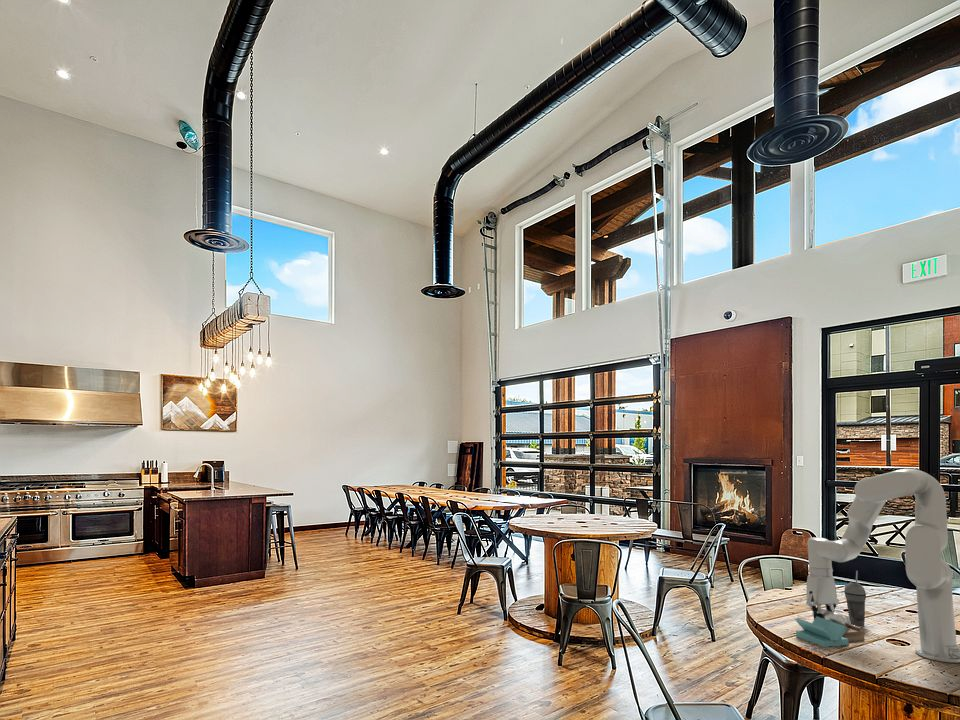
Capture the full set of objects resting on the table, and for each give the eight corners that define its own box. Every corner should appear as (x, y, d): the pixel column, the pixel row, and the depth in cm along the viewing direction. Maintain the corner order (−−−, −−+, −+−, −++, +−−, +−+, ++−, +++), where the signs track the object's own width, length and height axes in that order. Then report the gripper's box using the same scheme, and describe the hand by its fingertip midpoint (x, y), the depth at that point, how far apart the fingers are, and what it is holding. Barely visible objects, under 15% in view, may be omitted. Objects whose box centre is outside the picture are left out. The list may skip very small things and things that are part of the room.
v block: (848, 645, 203) (847, 625, 204) (824, 647, 201) (822, 628, 201) (819, 634, 215) (818, 616, 216) (796, 636, 212) (795, 618, 213)
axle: (850, 628, 212) (849, 615, 213) (840, 628, 211) (840, 615, 212) (821, 619, 223) (821, 607, 224) (812, 619, 222) (812, 607, 223)
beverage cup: (847, 620, 232) (844, 567, 235) (869, 624, 227) (865, 570, 230) (844, 625, 226) (840, 570, 229) (867, 628, 222) (863, 573, 225)
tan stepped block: (864, 640, 209) (863, 627, 210) (844, 642, 207) (843, 629, 207) (840, 631, 219) (839, 619, 219) (820, 633, 216) (819, 621, 217)
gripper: (830, 568, 229) (833, 618, 226) (794, 570, 224) (797, 621, 221) (847, 573, 221) (850, 624, 219) (810, 575, 217) (813, 628, 214)
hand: (823, 622), depth 220 cm, fingers closed on axle, 4 cm apart
